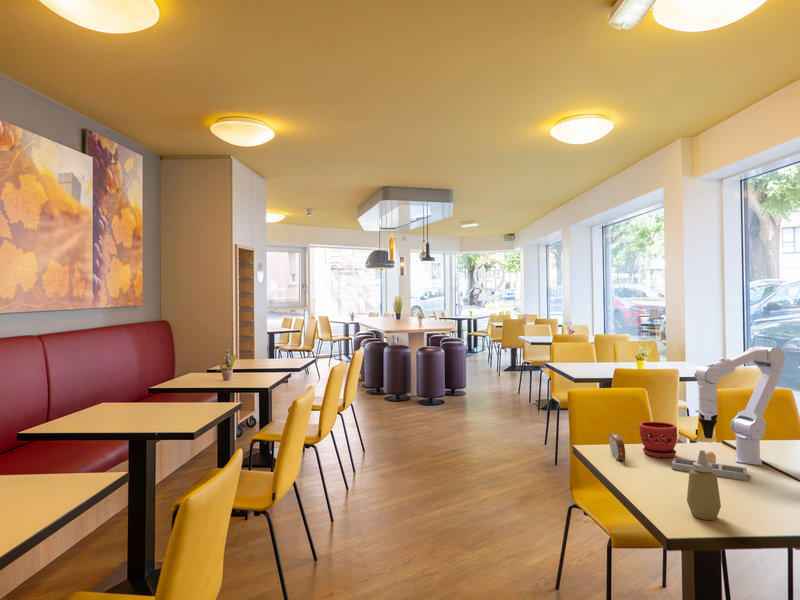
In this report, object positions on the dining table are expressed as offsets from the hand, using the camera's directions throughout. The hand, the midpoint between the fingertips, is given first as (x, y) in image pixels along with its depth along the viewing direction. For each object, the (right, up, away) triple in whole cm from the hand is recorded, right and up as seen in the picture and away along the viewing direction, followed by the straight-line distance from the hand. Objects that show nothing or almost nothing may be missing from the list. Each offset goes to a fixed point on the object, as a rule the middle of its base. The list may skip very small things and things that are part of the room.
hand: (708, 435), depth 179 cm
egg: (0, -10, 0) cm, 10 cm away
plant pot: (-13, -11, +11) cm, 20 cm away
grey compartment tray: (-6, -10, -9) cm, 15 cm away
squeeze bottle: (-31, -10, -46) cm, 56 cm away
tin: (-30, -11, +8) cm, 33 cm away
